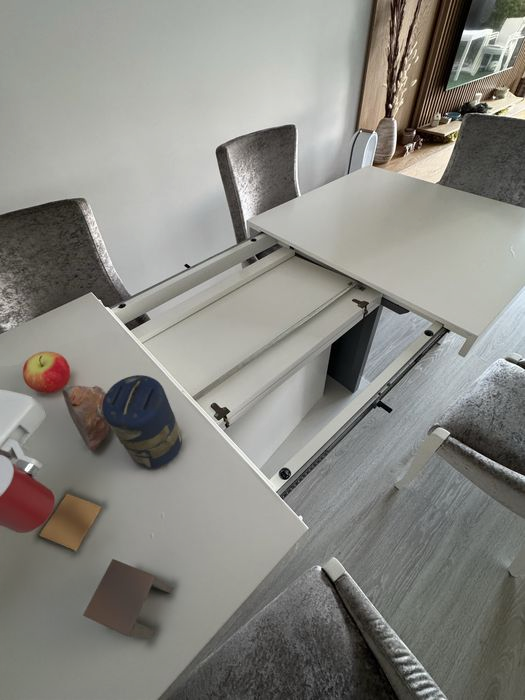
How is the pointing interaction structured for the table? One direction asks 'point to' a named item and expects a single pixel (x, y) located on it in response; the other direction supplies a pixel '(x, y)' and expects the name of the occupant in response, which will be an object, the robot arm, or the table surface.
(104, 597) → the brown wooden stand
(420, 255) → the table surface
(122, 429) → the canister
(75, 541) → the coaster
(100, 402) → the stone
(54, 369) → the apple
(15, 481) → the tube
